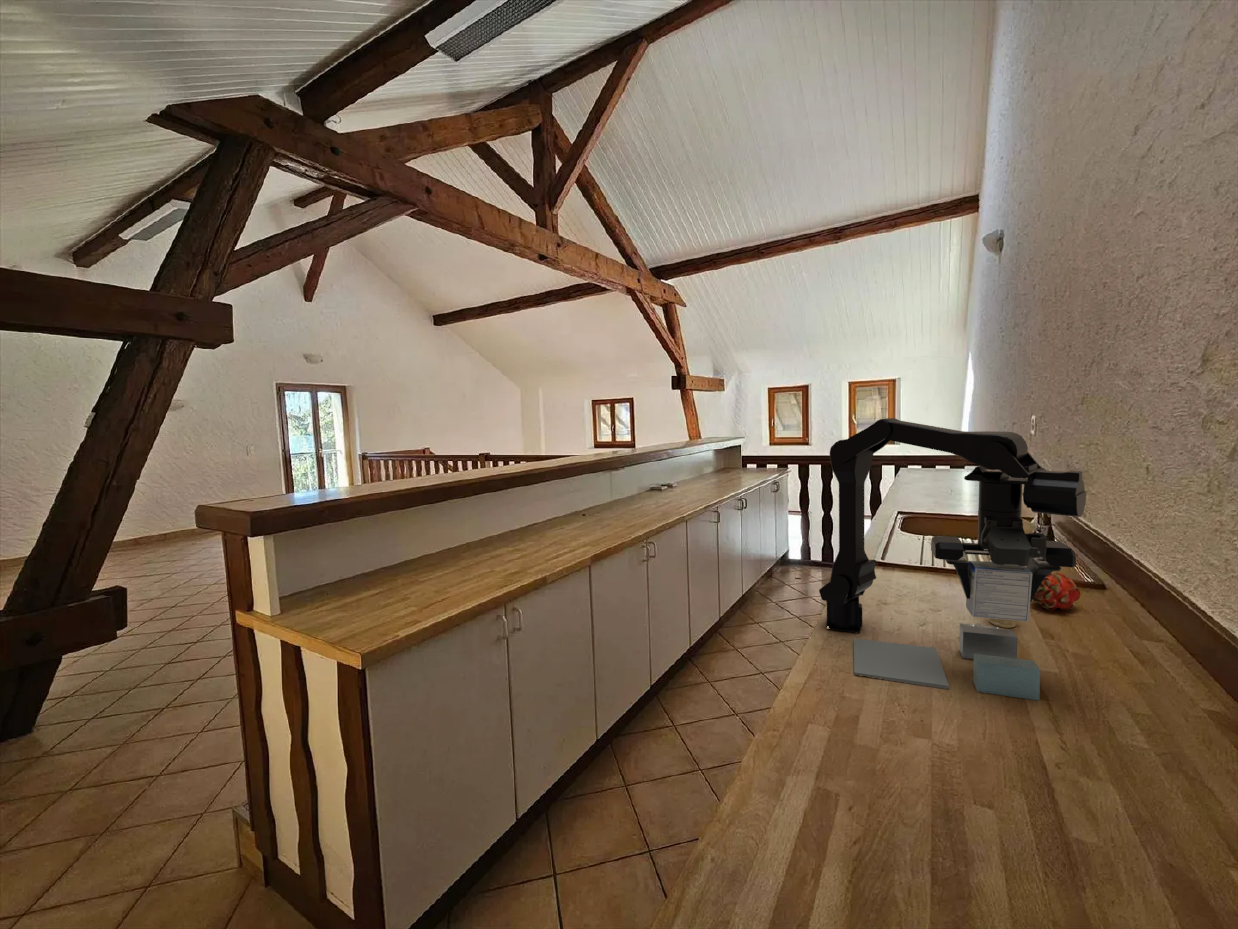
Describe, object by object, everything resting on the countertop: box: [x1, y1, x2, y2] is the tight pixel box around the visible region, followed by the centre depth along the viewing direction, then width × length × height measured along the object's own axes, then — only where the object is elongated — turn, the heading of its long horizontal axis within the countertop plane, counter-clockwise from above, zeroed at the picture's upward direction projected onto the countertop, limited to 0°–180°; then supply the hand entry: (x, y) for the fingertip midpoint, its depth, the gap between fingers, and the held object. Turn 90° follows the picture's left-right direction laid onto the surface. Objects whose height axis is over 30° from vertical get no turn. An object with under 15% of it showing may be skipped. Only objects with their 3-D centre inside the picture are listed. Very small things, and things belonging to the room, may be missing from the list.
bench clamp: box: [958, 622, 1041, 701], centre depth 91 cm, size 8×21×5 cm, turn 156°
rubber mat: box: [853, 637, 950, 690], centre depth 93 cm, size 14×14×1 cm
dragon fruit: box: [1032, 571, 1081, 612], centre depth 113 cm, size 8×8×12 cm
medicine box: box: [965, 560, 1032, 623], centre depth 87 cm, size 8×4×9 cm, turn 70°
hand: (997, 600), depth 87 cm, fingers closed on medicine box, 8 cm apart
